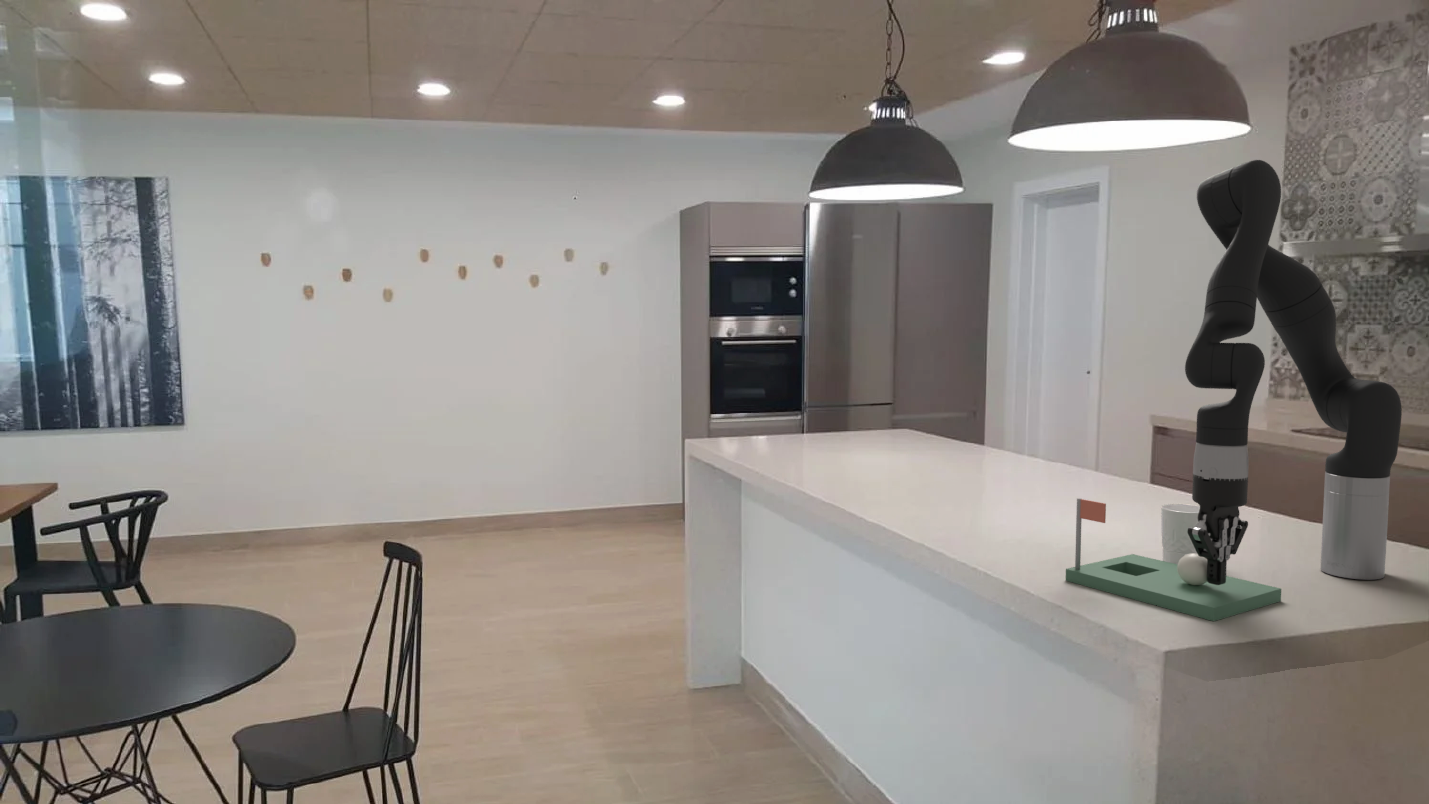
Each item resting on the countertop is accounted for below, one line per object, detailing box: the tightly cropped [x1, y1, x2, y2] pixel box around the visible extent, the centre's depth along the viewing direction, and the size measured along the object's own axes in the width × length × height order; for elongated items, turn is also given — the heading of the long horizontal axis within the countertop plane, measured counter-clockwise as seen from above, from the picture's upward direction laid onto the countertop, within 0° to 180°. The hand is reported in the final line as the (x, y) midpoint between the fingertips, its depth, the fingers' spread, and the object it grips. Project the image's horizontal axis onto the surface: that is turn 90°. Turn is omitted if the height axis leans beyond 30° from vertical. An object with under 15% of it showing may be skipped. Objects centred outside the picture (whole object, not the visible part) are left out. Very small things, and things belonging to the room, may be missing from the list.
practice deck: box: [1065, 498, 1282, 622], centre depth 157 cm, size 18×26×14 cm
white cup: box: [1160, 503, 1200, 564], centre depth 174 cm, size 8×8×10 cm
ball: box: [1177, 553, 1207, 585], centre depth 153 cm, size 5×5×5 cm
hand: (1216, 583), depth 150 cm, fingers closed
